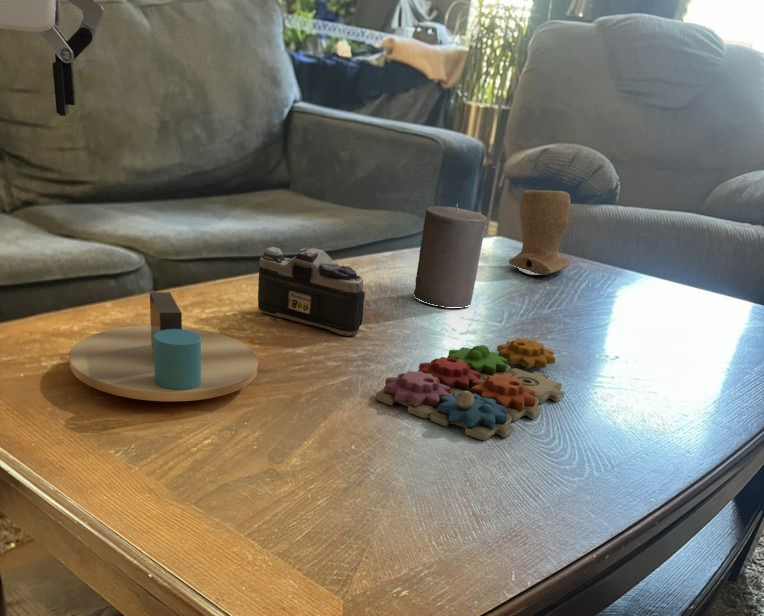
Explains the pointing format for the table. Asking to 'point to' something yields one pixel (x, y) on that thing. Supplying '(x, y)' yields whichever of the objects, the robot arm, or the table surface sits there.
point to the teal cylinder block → (177, 359)
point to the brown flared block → (542, 231)
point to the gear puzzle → (477, 388)
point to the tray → (136, 359)
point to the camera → (311, 290)
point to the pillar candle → (449, 256)
